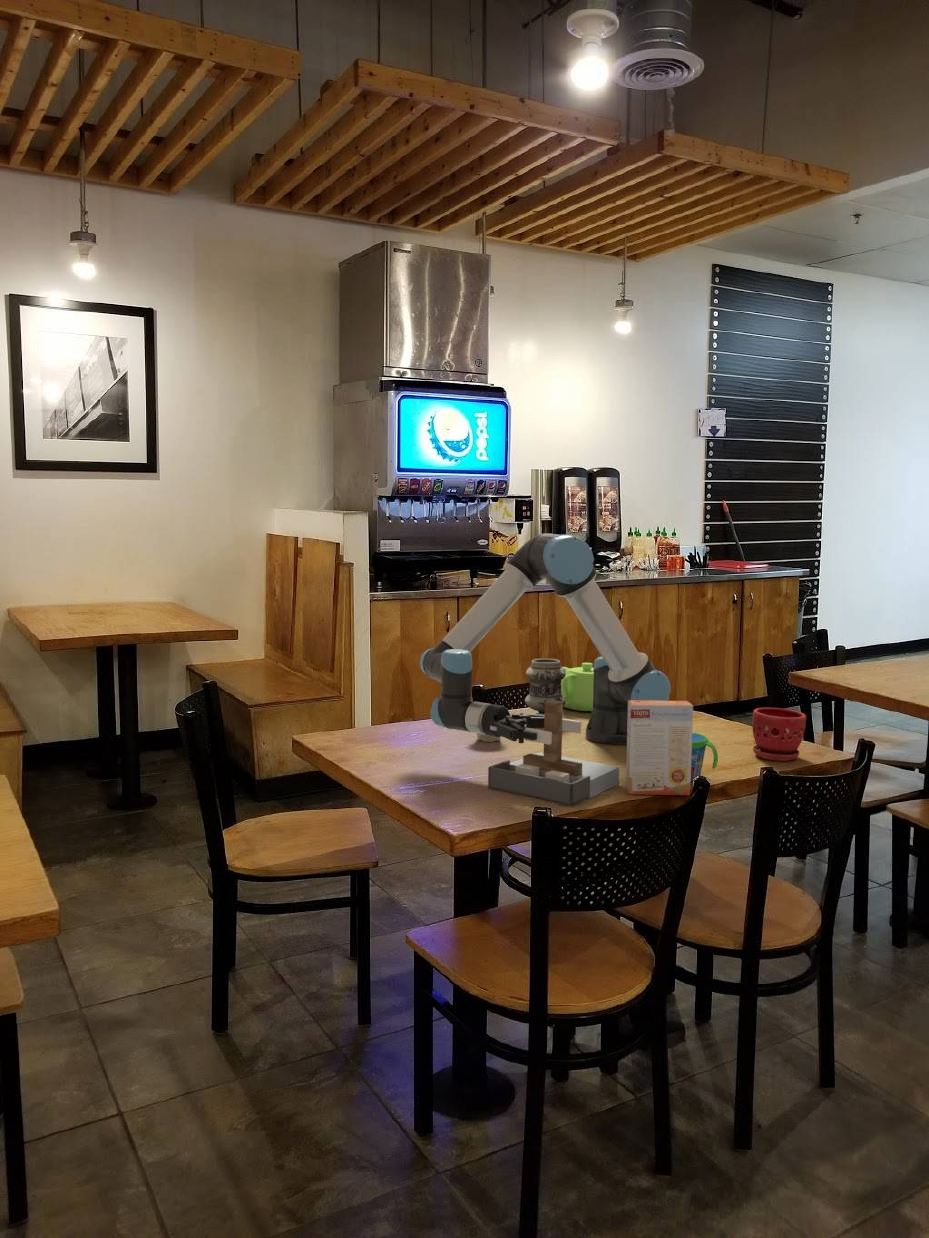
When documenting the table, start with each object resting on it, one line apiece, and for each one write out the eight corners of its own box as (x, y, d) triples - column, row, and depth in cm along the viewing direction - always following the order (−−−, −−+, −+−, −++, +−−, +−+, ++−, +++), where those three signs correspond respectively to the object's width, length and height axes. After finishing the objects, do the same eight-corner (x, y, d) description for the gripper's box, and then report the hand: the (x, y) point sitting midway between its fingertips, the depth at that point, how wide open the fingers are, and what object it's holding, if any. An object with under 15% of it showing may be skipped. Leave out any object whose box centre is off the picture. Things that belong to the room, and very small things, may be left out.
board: (538, 767, 248) (539, 752, 247) (618, 783, 235) (619, 767, 234) (507, 780, 236) (507, 763, 236) (589, 797, 223) (590, 780, 223)
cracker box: (685, 788, 231) (689, 699, 229) (690, 796, 225) (694, 705, 223) (624, 787, 232) (627, 698, 229) (628, 795, 226) (630, 704, 223)
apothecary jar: (547, 713, 309) (549, 655, 307) (573, 720, 299) (575, 661, 297) (516, 717, 303) (517, 659, 300) (541, 725, 293) (543, 664, 290)
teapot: (556, 713, 310) (557, 667, 308) (558, 700, 330) (559, 656, 328) (617, 715, 308) (619, 669, 306) (615, 702, 328) (617, 658, 326)
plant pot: (789, 766, 252) (791, 719, 250) (741, 756, 261) (743, 711, 259) (812, 757, 261) (815, 711, 260) (765, 747, 270) (767, 704, 269)
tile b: (552, 770, 227) (545, 773, 224) (569, 773, 224) (562, 776, 222) (551, 789, 227) (544, 792, 225) (569, 793, 225) (562, 796, 222)
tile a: (522, 763, 232) (515, 766, 230) (539, 766, 230) (532, 769, 227) (522, 782, 233) (515, 785, 230) (538, 785, 230) (531, 788, 228)
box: (507, 780, 236) (507, 759, 236) (589, 797, 223) (590, 776, 223) (488, 788, 230) (488, 767, 229) (571, 806, 217) (572, 784, 216)
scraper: (529, 763, 236) (531, 696, 234) (582, 774, 228) (583, 704, 226) (523, 766, 234) (524, 698, 232) (575, 776, 226) (577, 707, 224)
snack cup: (643, 777, 240) (645, 735, 239) (662, 768, 249) (664, 727, 248) (705, 789, 231) (707, 746, 230) (723, 779, 240) (725, 737, 239)
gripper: (516, 725, 251) (592, 738, 238) (457, 744, 231) (536, 760, 218) (517, 696, 250) (592, 707, 237) (458, 712, 230) (537, 726, 217)
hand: (566, 732), depth 228 cm, fingers open, 13 cm apart
